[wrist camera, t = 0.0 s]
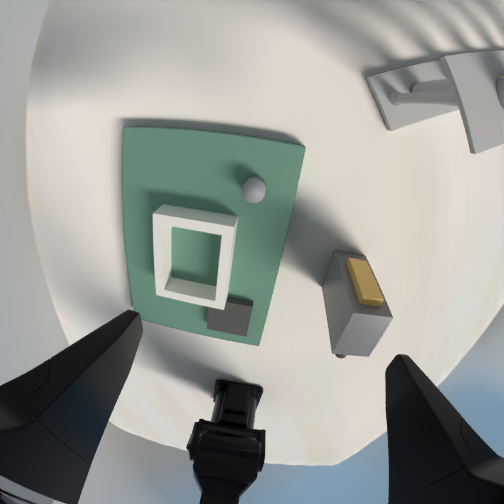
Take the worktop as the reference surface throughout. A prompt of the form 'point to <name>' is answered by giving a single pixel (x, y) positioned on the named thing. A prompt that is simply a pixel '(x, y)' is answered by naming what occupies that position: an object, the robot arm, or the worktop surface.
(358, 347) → the plug
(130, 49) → the worktop surface
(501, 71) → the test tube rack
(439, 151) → the worktop surface
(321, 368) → the worktop surface
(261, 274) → the board
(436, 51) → the worktop surface
